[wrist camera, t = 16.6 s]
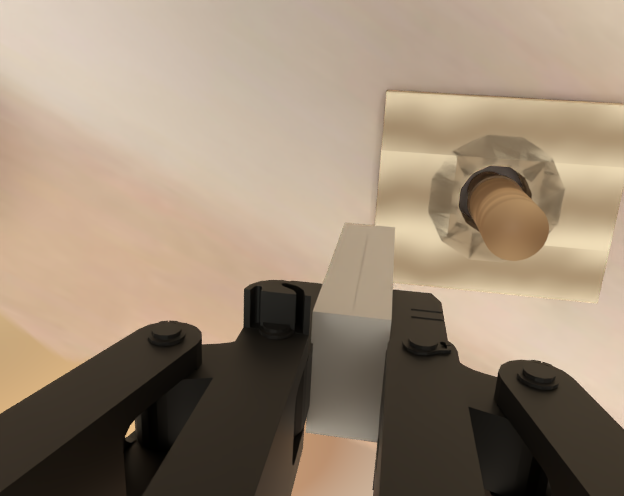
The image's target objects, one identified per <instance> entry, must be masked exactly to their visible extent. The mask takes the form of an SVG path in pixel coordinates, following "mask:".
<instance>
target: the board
mask: <svg viewBox="0 0 624 496" xmlns="http://www.w3.org/2000/svg"><path fill="white" fill-rule="evenodd" d="M489 166H502V167H510V168H512V169H513V170H515V171H516V172H517V174H518V176H519V179H520V181H521V183H522V190H523V191H524V192H525V193H526V194H527V195H528V196H529V197H530V198H531V199H532V200H533V201H534V202H535V204H536V205H537V206H538V207H539V208H540V209H541V210H542V211H543V212H544V213H545V215H546V217H547V220H548V223H549V234H548V238H547V240H546V242H545V244H544V246H543V247H542V248H541V249H540V250H539V251H538V252H537V253H536V254H534V255H533V256H531V257H529V258H527V259H524V260H519V261H509V260H504V259H501V258H499V257H497V256H495V255H494V254H493V253H492V252H491V251H490V250H489V249H488V248H487V246H486V244H485V242H484V240H483V238H482V236H481V234H480V232H479V230H478V227H477V225H476V223H475V222H474V221H473V219H472V218H470V217H469V216H467V215H466V214H464V213H463V212H461V210H460V208H459V199H460V192H461V188H462V187H463V185H464V184H465V183H466V181H467V180H468V179H469V178H470V176H471V175H472V174H473V173H475V172H477V171H480V170H482V169H484V168H486V167H489ZM623 188H624V104H619V103H602V102H585V101H568V100H551V99H534V98H517V97H499V96H482V95H465V94H448V93H431V92H414V91H397V90H387V92H386V102H385V114H384V125H383V136H382V148H381V159H380V170H379V181H378V193H377V204H376V215H375V226H386V227H395V243H394V269H393V283H399V284H409V285H419V286H429V287H439V288H449V289H459V290H469V291H478V292H488V293H498V294H508V295H518V296H528V297H538V298H548V299H557V300H567V301H577V302H587V303H598V298H599V294H600V290H601V285H602V281H603V276H604V272H605V267H606V263H607V259H608V254H609V250H610V245H611V241H612V236H613V232H614V228H615V223H616V219H617V214H618V210H619V205H620V201H621V196H622V192H623Z"/></svg>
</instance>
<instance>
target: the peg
mask: <svg viewBox="0 0 624 496" xmlns="http://www.w3.org/2000/svg"><path fill="white" fill-rule="evenodd" d="M467 207H468V211H469V214H470V216H471V218H472V219H473V221H474V222H475V223H476V225H477V227H478V230H479V232H480V234H481V236H482V238H483V240H484V242H485V244H486V246H487V248H488V249H489V250H490V251H491V252H492V253H493V254H494V255H495V256H497V257H499V258H501V259H504V260H509V261H519V260H524V259H527V258H529V257H531V256H533V255H534V254H536V253H537V252H538V251H539V250H540V249H541V248H542V247H543V246H544V244H545V242H546V240H547V238H548V234H549V223H548V220H547V217H546V215H545V213H544V212H543V211H542V210H541V209H540V208H539V207H538V206H537V205H536V204H535V202H534V201H533V200H532V199H531V198H530V197H529V196H528V195H527V194H526V193H525V192H524V191H523V190H522V188H521V187H520V186H519V185H518V183H517V182H515V181H514V180H513V179H511V178H509V177H506V176H502V175H499V174H497V173H495V172H483V173H480V174H478V175H476V176H475V177H474V178H473V179H472V180H471V182H470V183H469V186H468V200H467Z"/></svg>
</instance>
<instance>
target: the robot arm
mask: <svg viewBox="0 0 624 496" xmlns="http://www.w3.org/2000/svg"><path fill="white" fill-rule="evenodd" d="M394 243H395V227H386V226H375V225H364V224H352V223H345V224H344V227H343V230H342V232H341V235H340V238H339V241H338V243H337V246H336V249H335V252H334V254H333V257H332V260H331V263H330V265H329V268H328V271H327V273H326V276H325V279H324V282H323V284H319V283H309V282H299V281H284V280H268V281H260V282H256V283H253V284H250V285H249V286H248V287H246V288H245V289H244V328H243V329H242V331H241V333H240V334H239V336H238V338H237V339H236V341H235V342H230V343H221V344H203V345H202V334H201V331H200V330H199V329H198V328H197V327H195V326H192V325H190V324H187V323H181V322H178V321H169V322H168V321H161V322H159V323H155V324H151V325H147V326H145V327H143V328H141V329H138V330H137V331H135V332H133V333H132V334H130V335H129V336H127V337H125V338H124V339H122V340H120V341H119V342H117V343H115V344H114V345H112V346H111V347H109V348H107V349H106V350H104V351H102V352H101V353H99V354H97V355H96V356H94V357H93V358H91V359H89V360H88V361H86V362H84V363H83V364H81V365H79V366H78V367H76V368H75V369H73V370H71V371H70V372H68V373H66V374H65V375H63V376H61V377H60V378H58V379H57V380H55V381H53V382H52V383H50V384H48V385H47V386H45V387H43V388H42V389H40V390H39V391H37V392H35V393H34V394H32V395H30V396H29V397H27V398H25V399H24V400H22V401H21V402H19V403H17V404H16V405H14V406H12V407H11V408H9V409H7V410H6V411H4V412H3V413H1V414H0V496H291V492H292V488H293V484H294V481H295V476H296V473H297V469H298V465H299V461H300V457H301V453H302V449H303V437H304V425H305V421H306V417H307V422H306V432H307V433H313V434H320V435H328V436H335V437H342V438H349V439H357V440H364V441H371V442H377V452H376V462H375V471H374V472H375V473H374V481H373V490H374V492H373V496H624V429H623V428H622V427H621V426H620V425H619V424H618V423H617V422H616V421H615V420H614V419H613V418H612V417H611V416H610V415H609V414H608V413H607V412H606V411H605V410H604V409H603V408H602V407H601V406H600V405H599V404H598V403H597V402H596V401H595V400H594V399H593V398H592V397H591V396H590V395H589V394H588V393H587V392H586V391H585V390H584V389H583V388H582V387H581V386H580V385H579V384H578V383H577V382H576V381H575V380H574V379H573V378H572V377H571V376H569V375H568V374H567V373H565V372H564V371H562V370H560V369H558V368H556V367H553V366H552V365H551V364H548V363H545V362H543V363H541V361H536V360H531V361H529V360H515V361H509V362H507V363H505V364H503V365H501V367H500V369H499V371H498V377H495V376H491V375H488V374H484V373H481V372H478V371H475V370H472V369H470V368H468V367H466V366H464V365H463V364H461V363H460V362H459V357H458V352H457V350H456V348H455V346H454V345H453V344H452V343H450V342H449V341H448V339H447V333H446V327H445V322H444V316H443V310H442V304H441V302H440V301H439V300H438V299H437V298H436V297H435V296H434V295H432V294H431V293H421V292H412V291H402V290H393V269H394ZM134 420H135V431H134V432H133V433H131V434H130V435H129V436H128V437H126V438H125V435H126V433H127V431H128V429H129V426H130V425H131V423H132V422H133V421H134Z"/></svg>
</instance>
